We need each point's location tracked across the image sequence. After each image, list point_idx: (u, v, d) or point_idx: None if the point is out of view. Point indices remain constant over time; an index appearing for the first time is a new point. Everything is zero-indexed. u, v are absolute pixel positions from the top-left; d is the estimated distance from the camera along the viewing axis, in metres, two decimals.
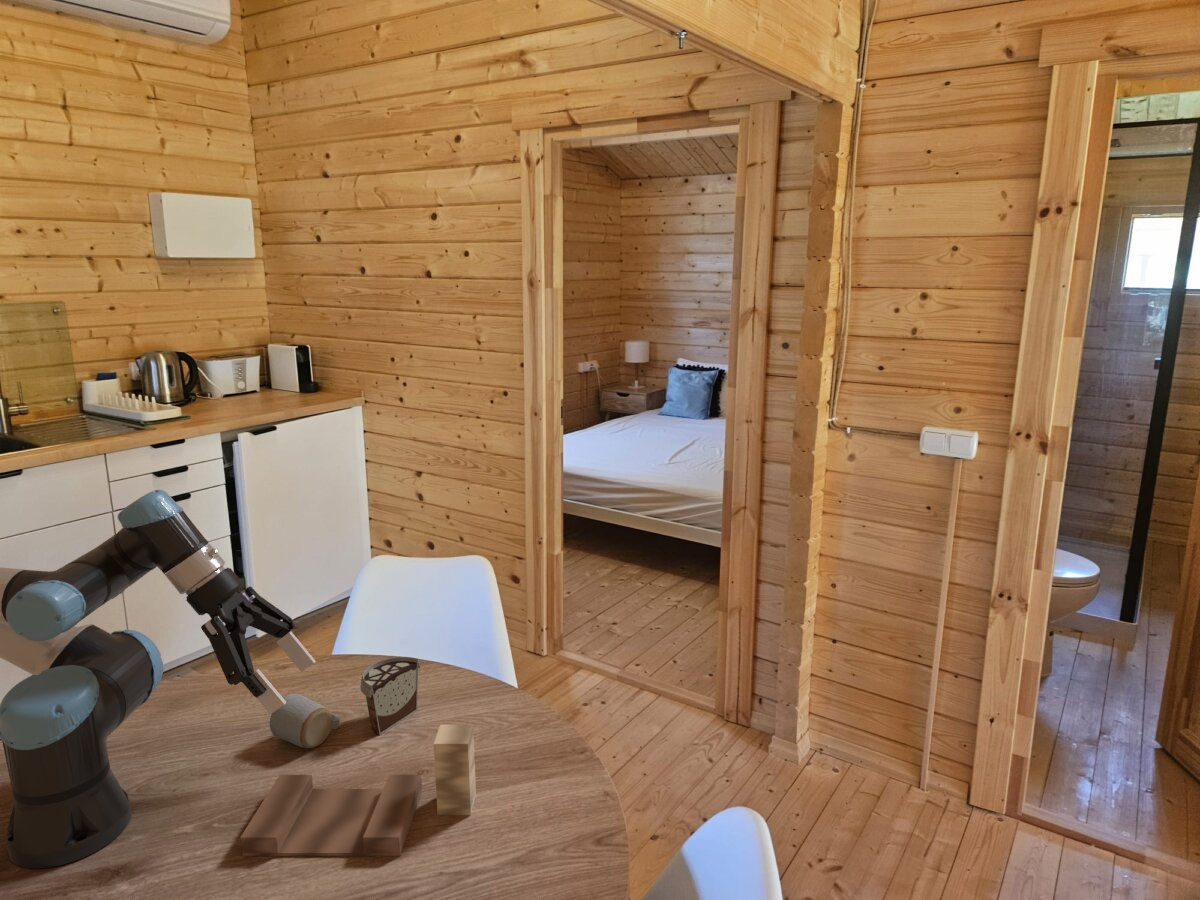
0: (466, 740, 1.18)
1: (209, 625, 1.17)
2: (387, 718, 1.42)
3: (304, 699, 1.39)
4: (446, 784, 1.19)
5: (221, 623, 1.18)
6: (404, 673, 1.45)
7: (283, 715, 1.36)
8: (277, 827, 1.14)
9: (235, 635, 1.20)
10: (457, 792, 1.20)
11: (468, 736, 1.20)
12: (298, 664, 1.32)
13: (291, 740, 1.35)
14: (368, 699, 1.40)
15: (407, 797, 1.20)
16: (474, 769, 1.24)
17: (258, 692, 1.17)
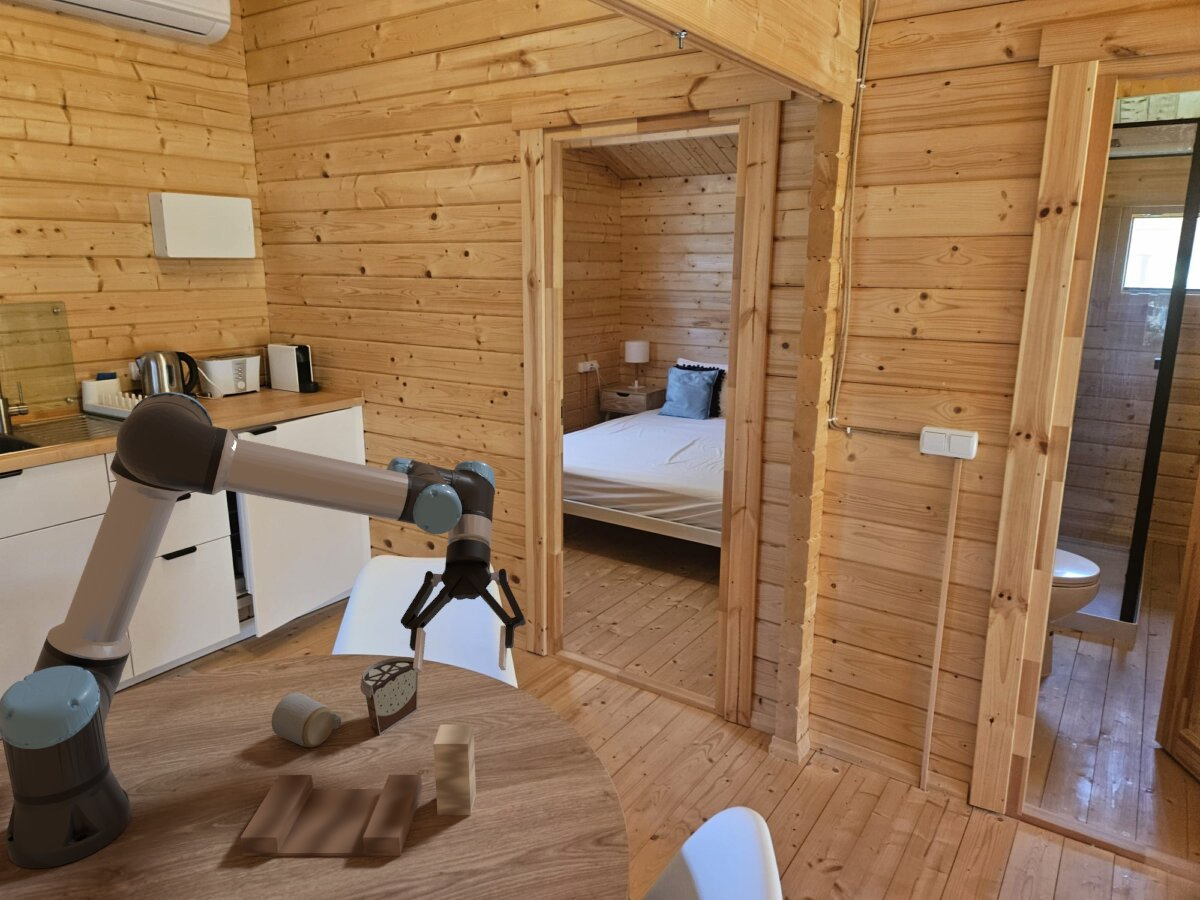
0: (466, 740, 1.18)
1: None
2: (387, 718, 1.42)
3: (306, 698, 1.39)
4: (446, 784, 1.19)
5: None
6: (404, 673, 1.45)
7: (285, 714, 1.36)
8: (277, 827, 1.14)
9: None
10: (457, 792, 1.20)
11: (468, 736, 1.20)
12: (419, 660, 1.29)
13: (293, 739, 1.36)
14: (368, 699, 1.40)
15: (407, 797, 1.20)
16: (474, 769, 1.24)
17: (513, 643, 1.30)
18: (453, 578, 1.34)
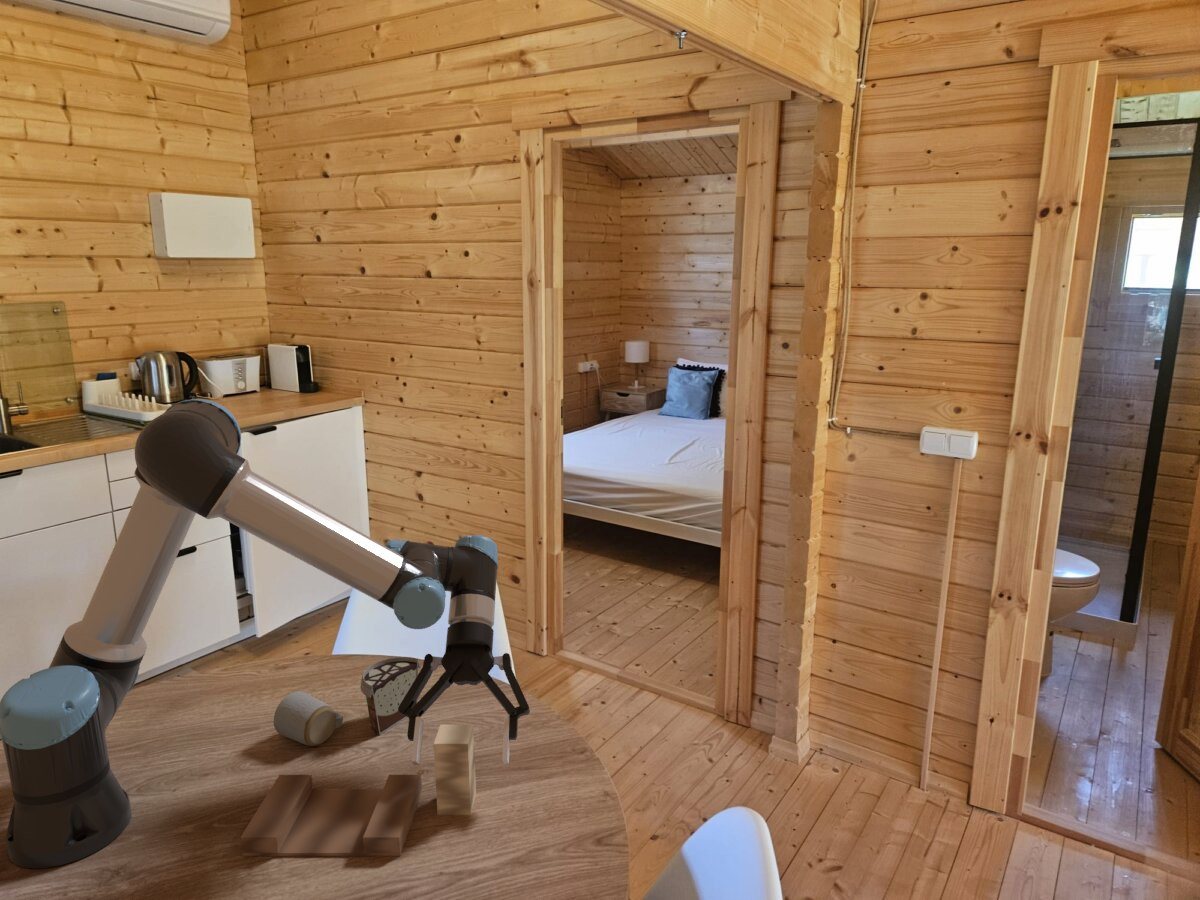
0: (466, 740, 1.18)
1: (510, 658, 1.30)
2: (387, 718, 1.42)
3: (308, 697, 1.40)
4: (446, 783, 1.19)
5: None
6: (404, 673, 1.45)
7: (287, 713, 1.37)
8: (277, 827, 1.14)
9: None
10: (457, 792, 1.20)
11: (468, 736, 1.20)
12: (417, 752, 1.22)
13: (295, 738, 1.36)
14: (368, 699, 1.40)
15: (407, 797, 1.20)
16: (474, 769, 1.24)
17: (516, 735, 1.24)
18: (454, 663, 1.28)
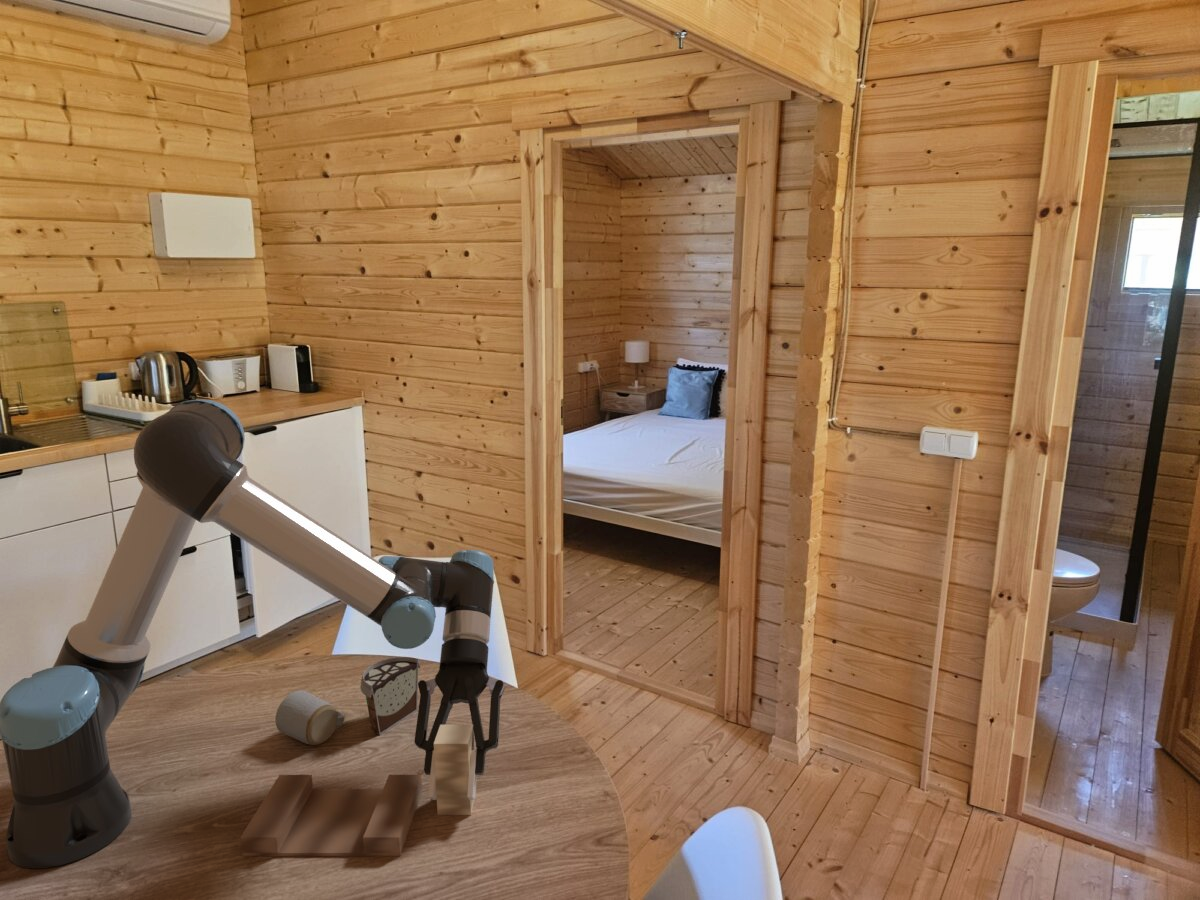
0: (466, 740, 1.18)
1: (503, 687, 1.27)
2: (387, 718, 1.42)
3: (309, 696, 1.40)
4: (446, 783, 1.19)
5: None
6: (404, 673, 1.45)
7: (289, 712, 1.37)
8: (277, 827, 1.14)
9: (478, 707, 1.26)
10: (457, 792, 1.20)
11: (468, 736, 1.20)
12: (434, 787, 1.18)
13: (297, 736, 1.36)
14: (368, 699, 1.40)
15: (407, 797, 1.20)
16: None
17: (483, 770, 1.21)
18: (449, 682, 1.25)
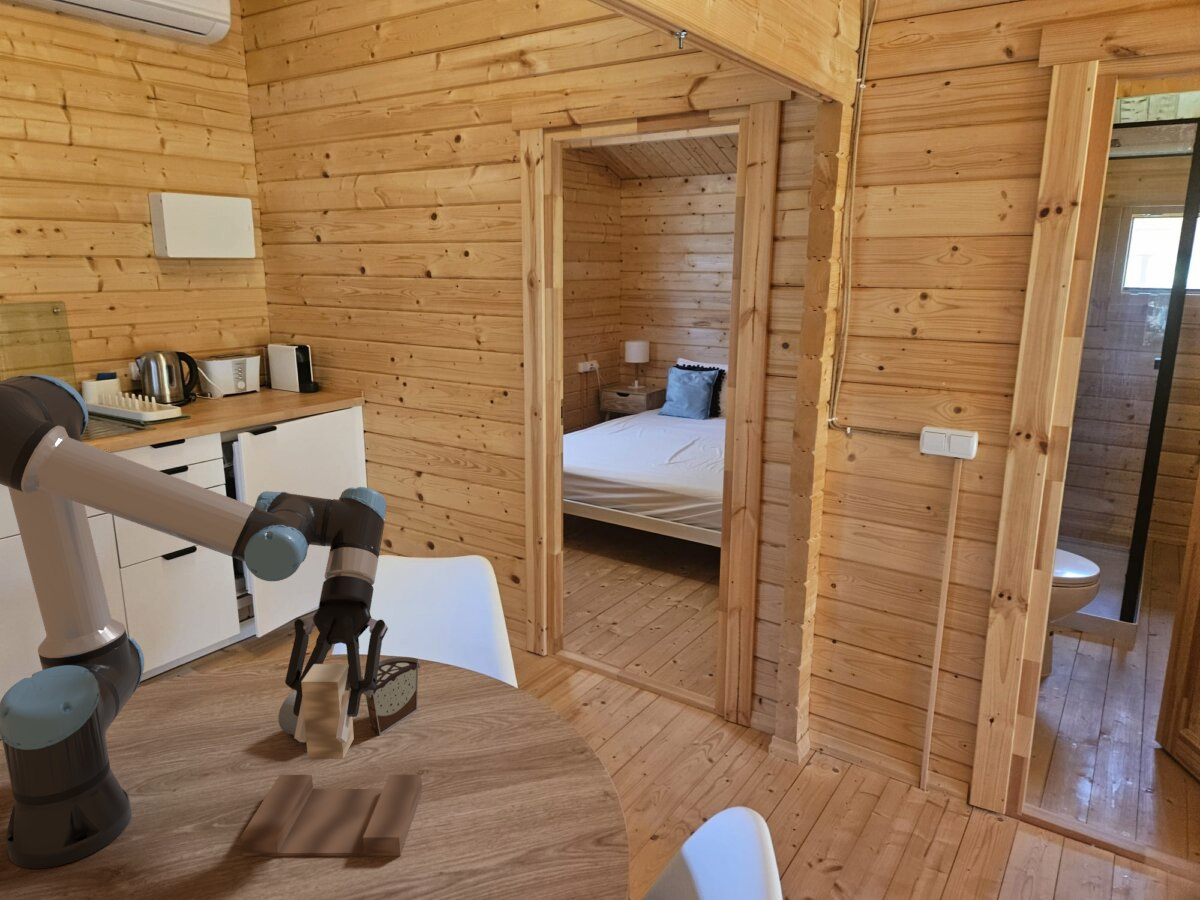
0: (337, 679, 1.12)
1: (385, 627, 1.21)
2: (387, 718, 1.42)
3: None
4: (316, 725, 1.13)
5: None
6: (404, 673, 1.45)
7: (292, 710, 1.38)
8: (277, 827, 1.14)
9: (357, 648, 1.19)
10: (328, 733, 1.13)
11: (340, 675, 1.13)
12: (302, 728, 1.12)
13: None
14: (368, 699, 1.40)
15: (407, 797, 1.20)
16: None
17: (357, 712, 1.14)
18: (326, 621, 1.19)
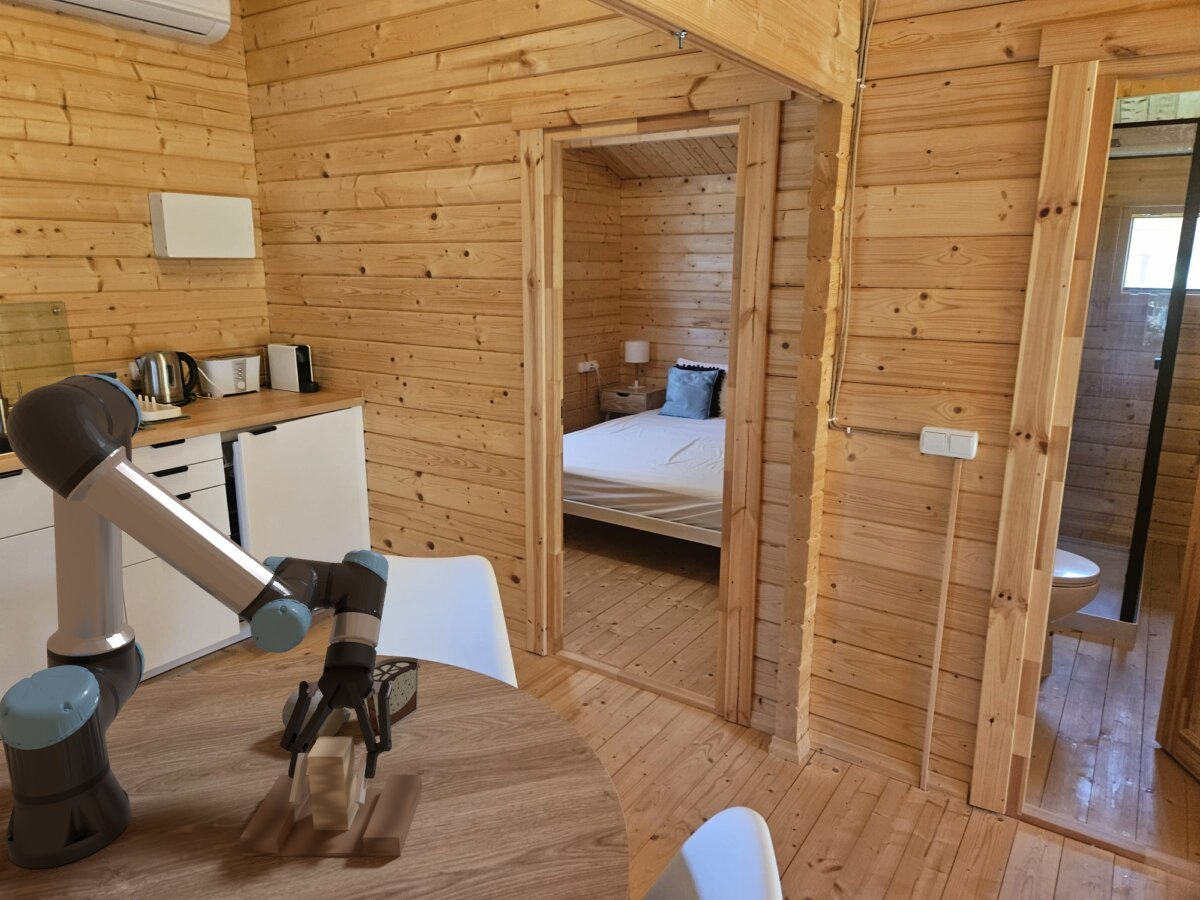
0: (341, 753, 1.15)
1: (390, 687, 1.23)
2: None
3: (316, 692, 1.41)
4: (322, 798, 1.15)
5: None
6: (404, 673, 1.45)
7: None
8: (277, 827, 1.14)
9: (366, 710, 1.22)
10: (333, 806, 1.16)
11: (345, 748, 1.16)
12: (297, 791, 1.15)
13: None
14: (368, 699, 1.40)
15: (407, 797, 1.20)
16: (355, 782, 1.20)
17: (374, 773, 1.17)
18: (330, 686, 1.21)
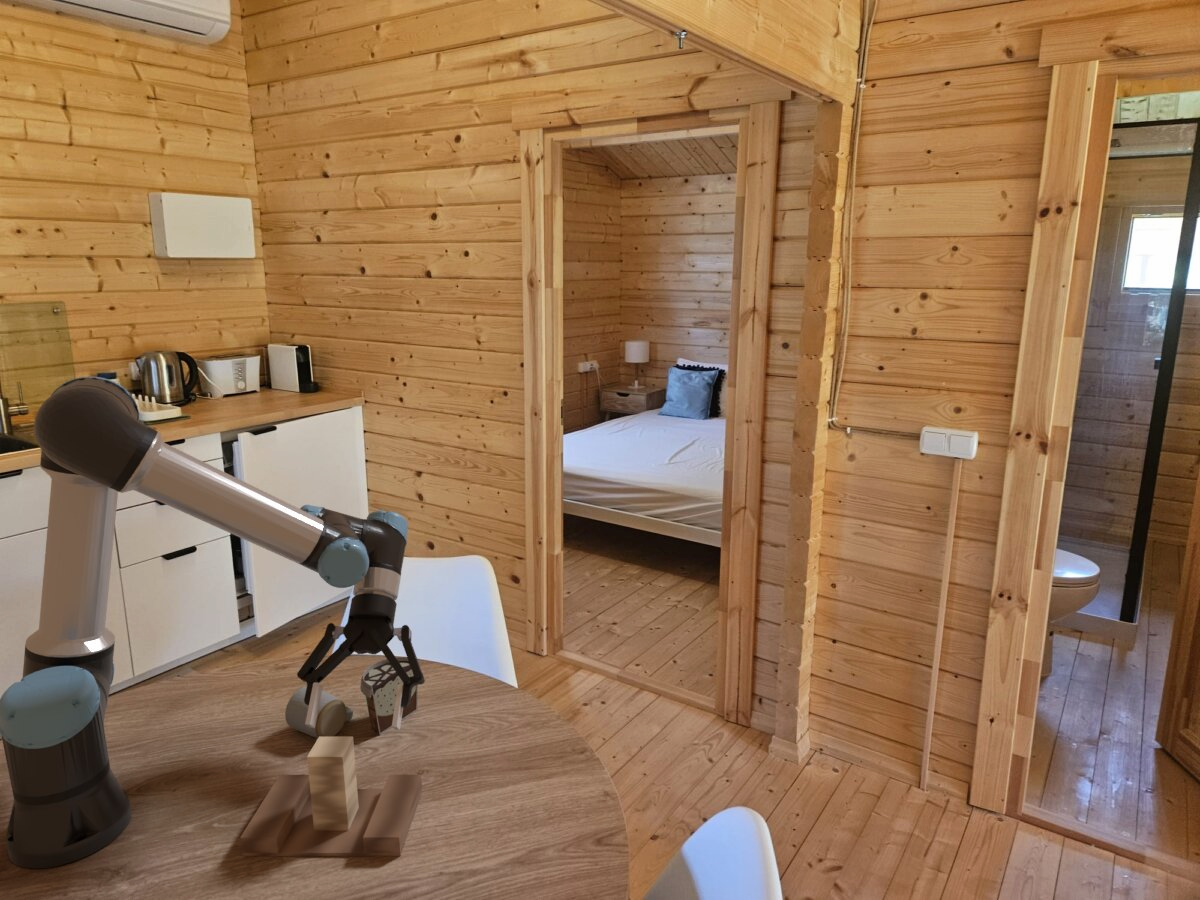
0: (341, 753, 1.15)
1: (410, 630, 1.36)
2: (387, 718, 1.42)
3: None
4: (322, 798, 1.15)
5: None
6: None
7: (298, 706, 1.39)
8: (277, 827, 1.14)
9: None
10: (333, 806, 1.16)
11: (345, 749, 1.16)
12: (312, 716, 1.28)
13: (306, 731, 1.38)
14: (368, 699, 1.40)
15: (407, 797, 1.20)
16: (355, 782, 1.20)
17: (409, 703, 1.30)
18: (354, 632, 1.33)
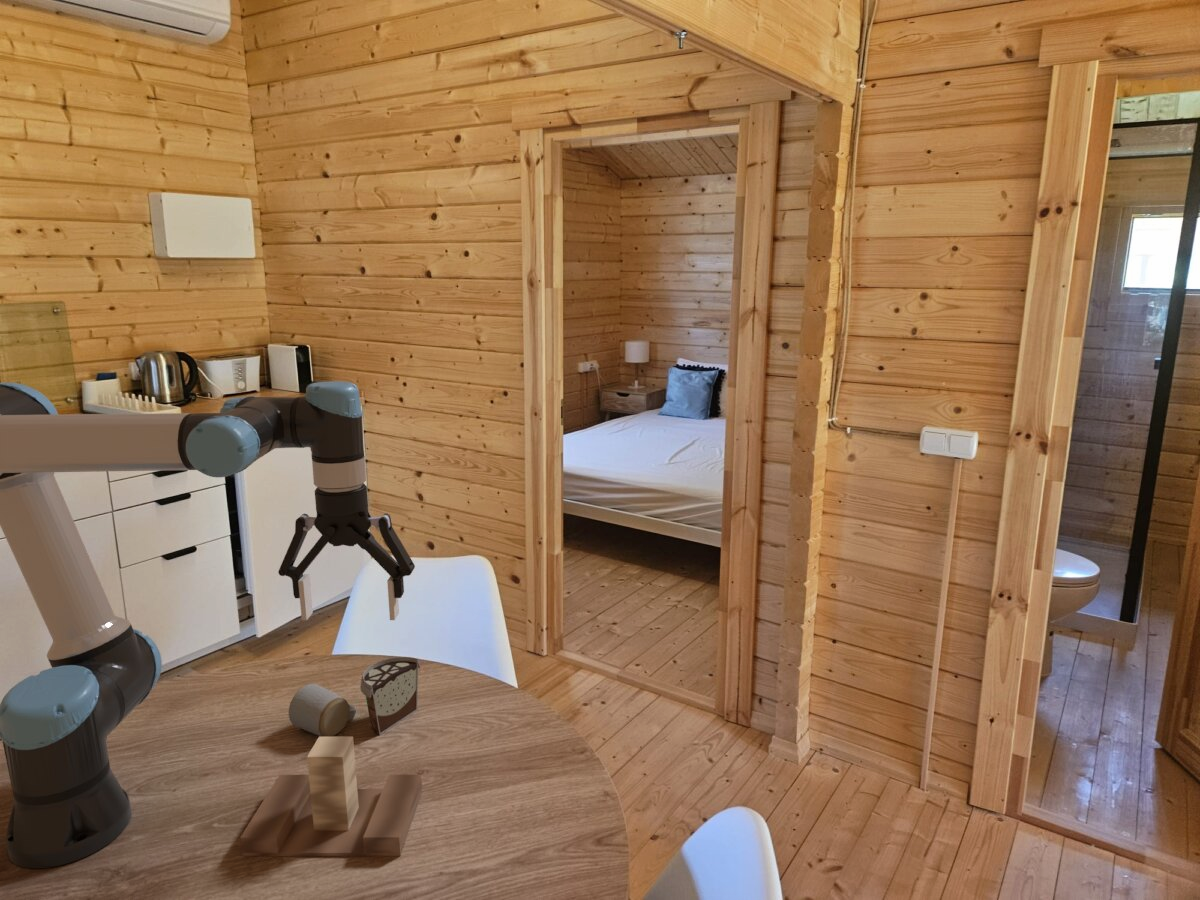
0: (341, 753, 1.15)
1: (388, 519, 1.22)
2: (387, 718, 1.42)
3: (322, 689, 1.42)
4: (322, 798, 1.15)
5: None
6: (404, 673, 1.45)
7: (302, 704, 1.39)
8: (277, 827, 1.14)
9: (373, 540, 1.23)
10: (333, 806, 1.16)
11: (345, 749, 1.16)
12: (306, 610, 1.24)
13: (310, 729, 1.39)
14: (368, 699, 1.40)
15: (407, 797, 1.20)
16: (355, 782, 1.20)
17: (403, 592, 1.25)
18: (327, 531, 1.20)
